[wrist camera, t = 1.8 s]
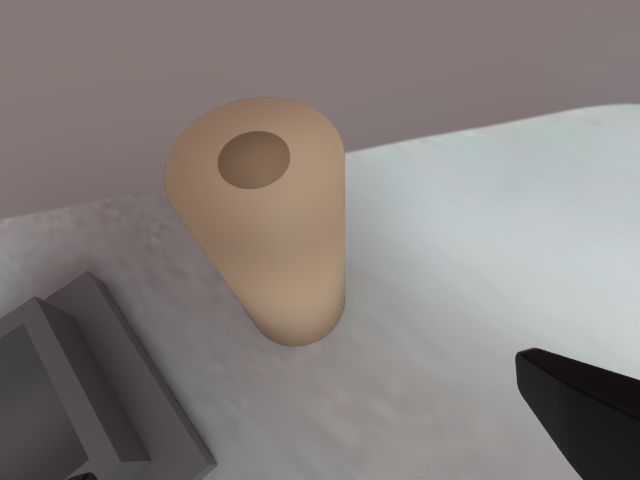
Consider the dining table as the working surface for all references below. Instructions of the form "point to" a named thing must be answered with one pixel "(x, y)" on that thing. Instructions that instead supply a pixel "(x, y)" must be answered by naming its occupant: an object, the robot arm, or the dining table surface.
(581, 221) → the dining table surface
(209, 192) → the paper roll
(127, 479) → the roll caddy
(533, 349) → the robot arm
